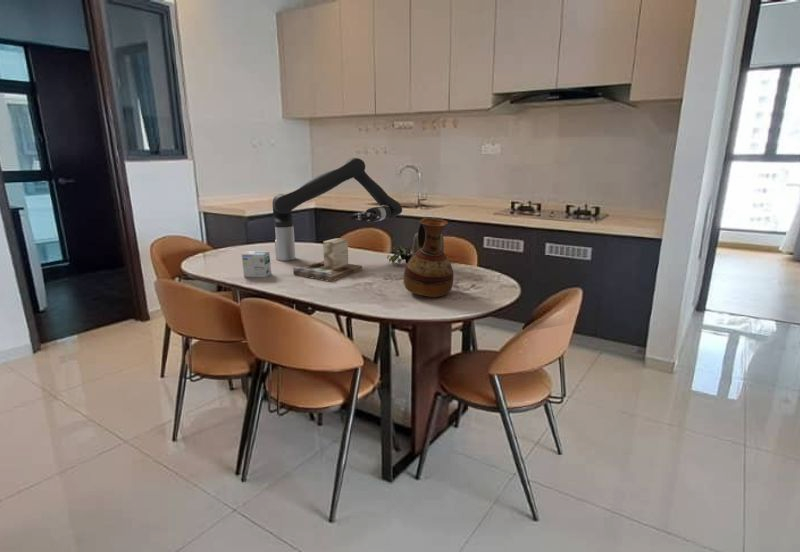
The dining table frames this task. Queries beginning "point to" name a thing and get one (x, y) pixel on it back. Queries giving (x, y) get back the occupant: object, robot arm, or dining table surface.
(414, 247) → the tabletop clock
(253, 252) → the light bulb box
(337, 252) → the birch block
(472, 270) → the dining table surface
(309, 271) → the trap board
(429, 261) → the ceramic pitcher
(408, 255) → the passion flower
